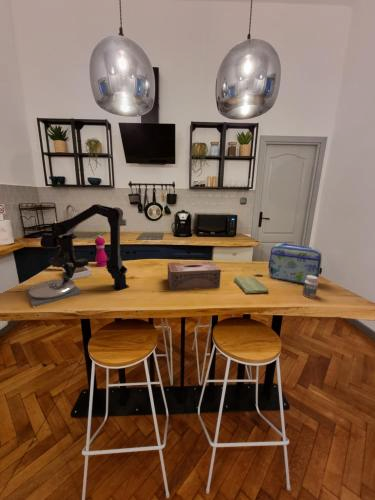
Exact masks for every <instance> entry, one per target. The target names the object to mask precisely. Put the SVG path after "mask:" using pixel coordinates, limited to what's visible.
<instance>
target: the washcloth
mask: <svg viewBox="0 0 375 500" xmlns="http://www.w3.org/2000/svg"><path fill="white" fill-rule="evenodd" d="M233 281H234V283H235V284H236V285H237V286H238V287H239V288H240V289H241V290H242V291H243V292H244V293H245V294H246V295H247V294H260V293H261V294H262V293H268V292H269V288H267V286H266V285H264V283H262V282H261V281H260V280H258V279H257V278H256V277H254V276H245V277H244V276H235V277H234V280H233Z"/></svg>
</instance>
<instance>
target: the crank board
mask: <svg viewBox="0 0 375 500" xmlns="http://www.w3.org/2000/svg"><path fill="white" fill-rule="evenodd" d="M29 290H30V288H25V293H26V295H27V297H28V299H29V301H30V303H31V306H32V307H33V306H36V307H38V306H37V305H39V306H42V305H41V304H43V305H46V304H49V303H53V302H56V301H59V300H64V299H68V298H70V297H75V296H78V295H83V294H82V293H83V291H82V290H81V289H80V288H79V287H78V285H76V284H75V288H74V289H73V290H72V291H71V292H69V293H67V294H65V295H63V296H59V297H56V298H50V299H35V298H32V297H31V296H30V293H29ZM45 303H46V304H45Z"/></svg>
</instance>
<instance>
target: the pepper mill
mask: <svg viewBox="0 0 375 500" xmlns="http://www.w3.org/2000/svg"><path fill="white" fill-rule="evenodd" d="M105 243H106V239H105V238H103V237H102V236H101V235H97V238H95V240H94V244H95V247H96V255H95V258H94V259H95V260H94V261H95V262H96V267H98V268H102V267H103V268H104V267H106V266H107V265H106V260H107V259H108V256H107V254H106V252H105Z"/></svg>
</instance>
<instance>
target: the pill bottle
mask: <svg viewBox="0 0 375 500" xmlns="http://www.w3.org/2000/svg"><path fill="white" fill-rule="evenodd" d="M306 278H307V280H305V282H304V284H303V288H302V295H303V296H304V297H305V296H306V297H305V298H308V297H309V298H308V299H314V298H316V296H317V290H318V286H319V282H318V281H319V280H318V279H319V277H318V278H317V277H316V276H312V275H307V277H306Z"/></svg>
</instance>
